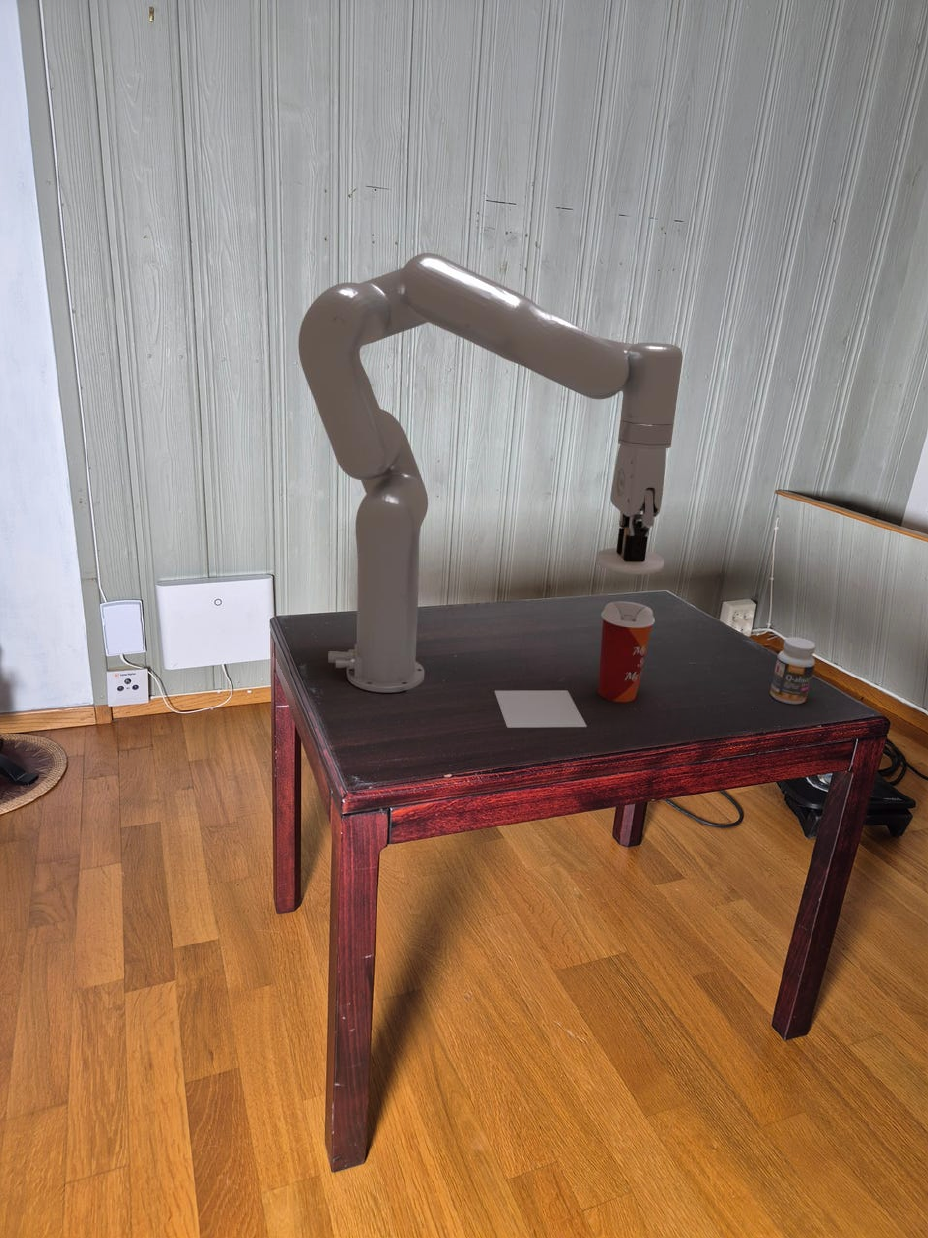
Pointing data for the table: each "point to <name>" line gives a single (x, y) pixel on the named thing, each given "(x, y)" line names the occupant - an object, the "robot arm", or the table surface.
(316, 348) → the robot arm
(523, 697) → the mat
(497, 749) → the table surface
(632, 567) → the lid
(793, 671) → the pill bottle
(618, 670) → the coffee cup
